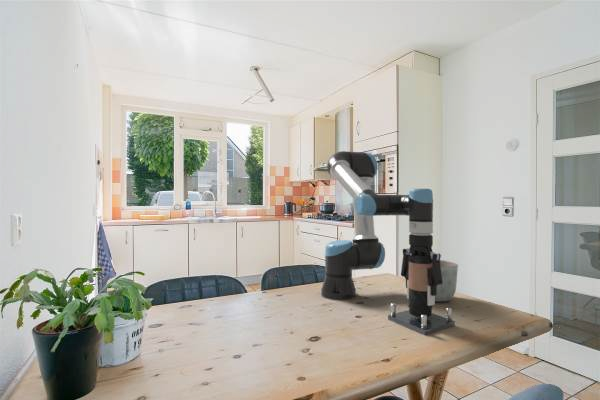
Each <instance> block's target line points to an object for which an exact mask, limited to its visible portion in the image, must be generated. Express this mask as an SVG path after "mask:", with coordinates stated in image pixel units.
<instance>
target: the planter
mask: <svg viewBox="0 0 600 400" xmlns="http://www.w3.org/2000/svg"><path fill="white" fill-rule="evenodd" d="M440 266H441V274H442V282H443V283H442V284H440V285H437V294H436V295H435V303H436V302H438V303H442V302H448V301H450V300H451V299H453V297H454V296H455V294H456V290H457V282H458V281H457V280H458V269H459V264H458V263H456V262H453V261H450V260H443V259H440ZM432 268H433V267H432Z"/></svg>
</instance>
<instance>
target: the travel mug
mask: <svg viewBox="0 0 600 400" xmlns="http://www.w3.org/2000/svg"><path fill="white" fill-rule="evenodd" d="M427 267H428V268H431V267H432V259H431V256H429V257H428V256H427V257H422V256H413V255H411V254H409V286H408V287H409V299H408V310H409V313H410V314H411V315H413V316H417V317H421V315H422V314H424V315H427V317H430V316H431V315H432V313H433V311H432V310H433V305H431V306H428V305H427V285H429V280H428V277H427Z"/></svg>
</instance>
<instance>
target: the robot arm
mask: <svg viewBox="0 0 600 400" xmlns="http://www.w3.org/2000/svg"><path fill="white" fill-rule="evenodd" d="M326 164H327V165H326V168H327V172H328V174H329V176H330V177H331V178H332V179H333V180H334V181H335V180H336V181H338V183H339V184H340V185H341V186H342V188H343V189H345V191H346V192H347V193H348V194H349V196H350V197H351V198H352V203H353V204H352V207H353V217H354V232H355V236H354V237H353V238H352V240H349V239H342V240H341V239H339V240H334V241H330V242H328V243H326V246H325V249H324V250H325V252H324V256H325V257H324V259H325V260H324V263H325V268H324V270H325V273H324V274H325V276H324V280H323V283H322V286H321V291H320V292H321V296H322V297H323V298H326V299H329V300H339V301H340V300H341V301H343V300H350V299H354V298H355V297H356V296H357V290H356V286H355V283H354V280H353V271H358V270H373V269H378V268H380V267H382V265H383V263H384V262H385V258H386V250H385V247H384V244H383V243H382V242H380V239H379V237H378V236H377V235H376V234H375V224H374V222H375V221H374V216H376V217H377V216H408V217H409V219H408V227H409V228H408V232H409V233H410V234H409V235H408V244H409V248H403V249H402V255H403V256H402V262H401V272H400V275H401V277H403V278H404V279H405V288H406V291H407V292H406V299H407V300H409V287H408V286H409V254H410V255H413V256H422V257H427V256H428V257H429V256H431V259H432V267H433V268H432V267H431V268H428V267H427V277H428V280H429V285H427V305H428V306H431V305H432V306H434V305H436V302H435V295H436V294H437V285H440V284H442V283H443V282H442V274H441V266H440V260H441V256H442V255H441V253H437V252H434V251H433V249H432V247H433V244H434V243H433V241H434V239H433V237H434V236H433V235H432V234H433V233H434V229H433V227H434V223H433V222H434V221H433V217H434V215H433V214H434V197H433V190H432V189H430V188H410V189H409V193H408V194H377V193H376V191H374V190H373V189H372V185H371V183H372V182H373V181H374V177H376V175H377V173H378V167H379V166H378V161H377V159H376V157H375V156H374V154H372V153H371V152H364V151H345V150H344V151H343V150H342V151H338V152H335V153H334V154H332V155H331V156H330V157H329V159H328V162H327V163H326Z"/></svg>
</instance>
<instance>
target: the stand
mask: <svg viewBox="0 0 600 400" xmlns="http://www.w3.org/2000/svg"><path fill="white" fill-rule="evenodd" d="M396 305H397V304H396V303H393V302H391V303H390V314H388V315H387V319H388V321H391V322H393V323H396V324H397V325H400V326H402V327H405V328H407V329H410V330H412V331H415V332H417V333H419V334H421V335H422V336H423V335H424V336H426V335H429V334H433V333H437V332H439V331H443V330H445V329H448V328H451V327H455V325H456V323H455V322H456V321H455V320H453V319H452V318H453V315H452V314H453V313H452V312H453V310H452V309H453V308H451V307H446V317H444V316H441V315H440V314H439V315H438V314H436V313H433V312H432V315H431V316H430V317H427V315H424V314H422V315H421V317H417V316H413V315H411V314H410V313H409V309H407V310H404V311H403V310H402V311H399V312H397V310H396Z"/></svg>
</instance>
